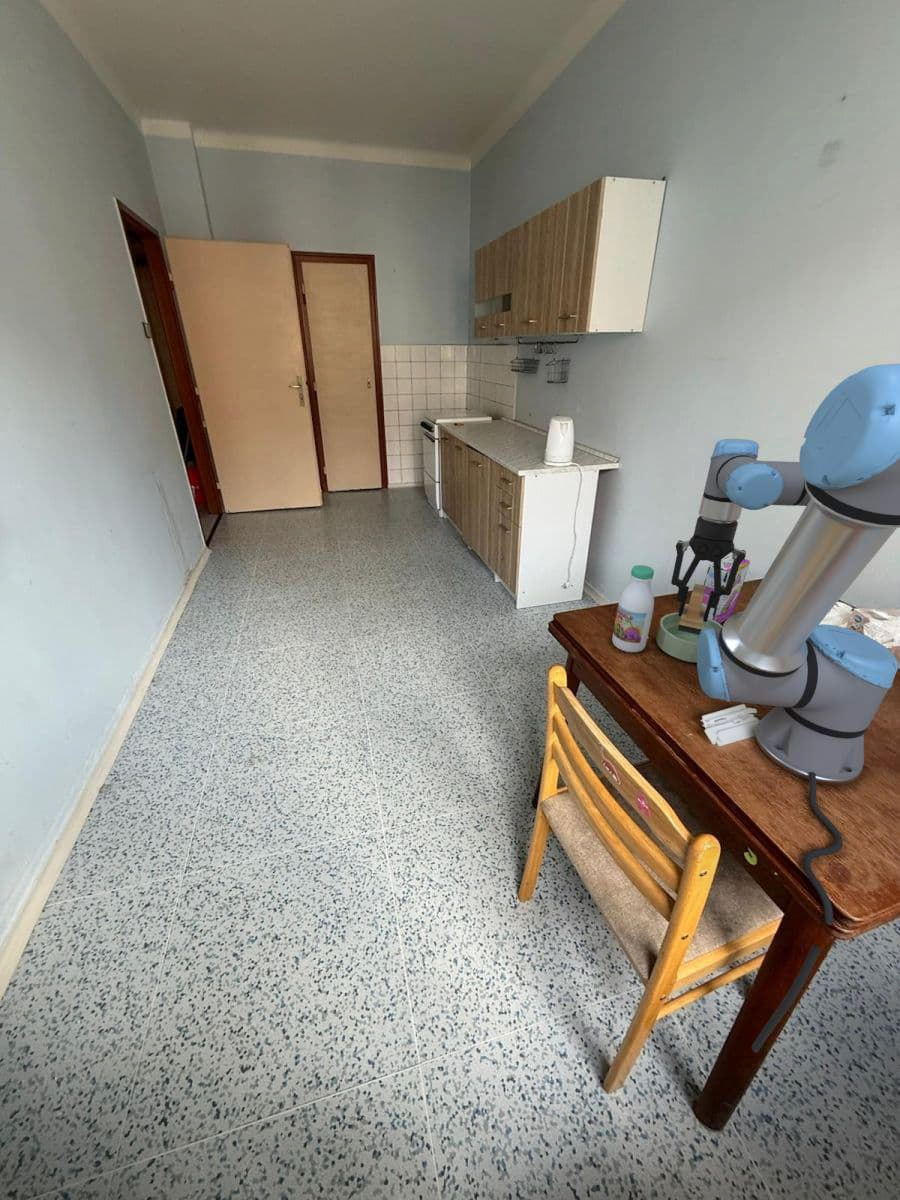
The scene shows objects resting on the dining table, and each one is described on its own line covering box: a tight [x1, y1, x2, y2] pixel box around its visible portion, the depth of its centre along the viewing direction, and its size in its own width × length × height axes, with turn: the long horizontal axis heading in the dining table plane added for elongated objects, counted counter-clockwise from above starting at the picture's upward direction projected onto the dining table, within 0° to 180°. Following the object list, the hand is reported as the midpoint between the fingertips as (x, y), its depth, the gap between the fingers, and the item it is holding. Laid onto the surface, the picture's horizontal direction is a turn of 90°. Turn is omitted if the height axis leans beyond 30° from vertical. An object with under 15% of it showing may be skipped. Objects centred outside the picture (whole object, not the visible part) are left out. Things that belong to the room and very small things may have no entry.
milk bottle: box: [611, 564, 655, 653], centre depth 109 cm, size 8×8×20 cm
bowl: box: [655, 612, 723, 664], centre depth 111 cm, size 14×14×6 cm
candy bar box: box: [702, 554, 751, 625], centre depth 119 cm, size 11×5×16 cm, turn 126°
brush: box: [678, 583, 706, 635], centre depth 107 cm, size 8×4×9 cm, turn 149°
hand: (692, 616), depth 108 cm, fingers closed on brush, 4 cm apart
